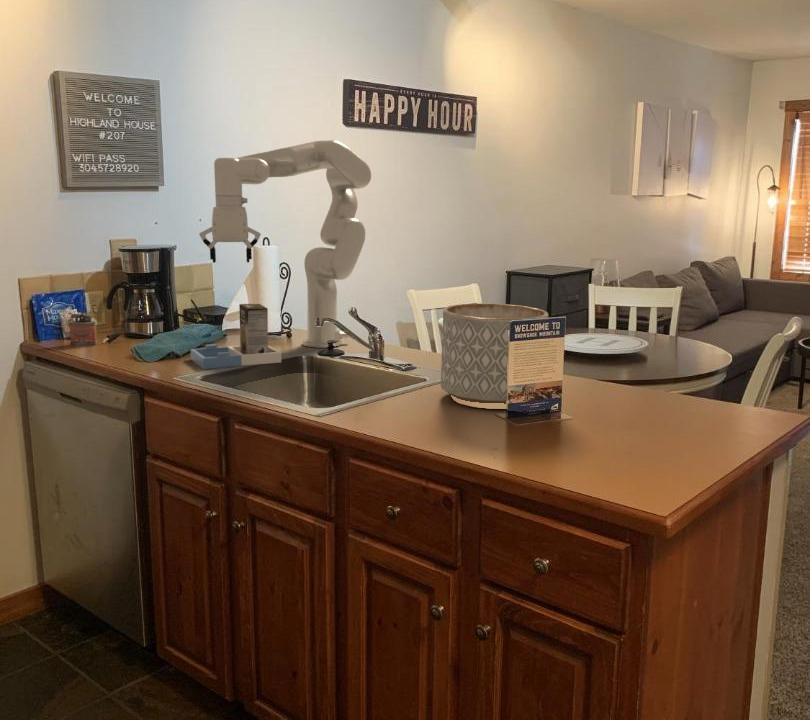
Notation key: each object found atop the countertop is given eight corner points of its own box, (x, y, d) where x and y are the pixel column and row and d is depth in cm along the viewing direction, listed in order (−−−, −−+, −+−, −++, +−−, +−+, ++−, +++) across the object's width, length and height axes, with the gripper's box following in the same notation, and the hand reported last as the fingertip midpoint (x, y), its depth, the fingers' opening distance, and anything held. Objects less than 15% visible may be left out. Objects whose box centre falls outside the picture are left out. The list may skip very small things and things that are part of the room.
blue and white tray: (265, 353, 245) (265, 340, 245) (281, 362, 233) (281, 349, 233) (190, 359, 235) (190, 345, 234) (203, 368, 223) (202, 355, 222)
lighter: (98, 344, 253) (96, 312, 251) (94, 346, 250) (93, 314, 248) (72, 343, 253) (70, 312, 250) (68, 345, 249) (66, 314, 247)
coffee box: (239, 357, 239) (238, 303, 236) (260, 355, 242) (259, 303, 239) (247, 363, 231) (246, 308, 228) (268, 361, 234) (268, 307, 230)
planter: (468, 417, 182) (472, 321, 177) (424, 390, 205) (426, 305, 200) (563, 408, 191) (569, 317, 187) (510, 384, 215) (515, 302, 210)
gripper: (259, 202, 233) (261, 260, 237) (199, 201, 230) (201, 260, 234) (259, 202, 226) (261, 263, 229) (196, 202, 223) (199, 263, 227)
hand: (231, 262), depth 232 cm, fingers open, 9 cm apart
